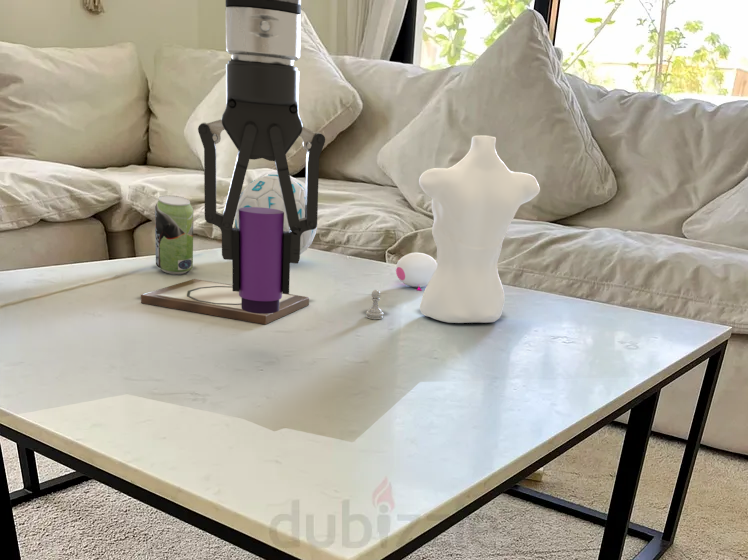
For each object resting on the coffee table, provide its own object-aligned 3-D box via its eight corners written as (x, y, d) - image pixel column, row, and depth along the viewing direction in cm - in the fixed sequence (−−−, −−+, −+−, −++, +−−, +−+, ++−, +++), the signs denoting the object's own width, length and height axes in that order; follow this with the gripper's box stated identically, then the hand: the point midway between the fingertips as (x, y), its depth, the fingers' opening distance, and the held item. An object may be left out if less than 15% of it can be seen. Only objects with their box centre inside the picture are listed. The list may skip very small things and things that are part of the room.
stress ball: (429, 303, 139) (428, 267, 140) (445, 285, 132) (443, 248, 132) (389, 301, 137) (387, 264, 138) (402, 283, 130) (400, 244, 130)
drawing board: (140, 303, 112) (140, 293, 111) (194, 286, 124) (194, 277, 123) (265, 324, 106) (265, 314, 106) (309, 305, 118) (309, 295, 118)
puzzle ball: (332, 263, 149) (335, 178, 142) (276, 272, 138) (276, 180, 131) (275, 250, 157) (276, 169, 150) (218, 257, 146) (215, 170, 139)
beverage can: (181, 267, 136) (178, 193, 130) (203, 275, 131) (201, 199, 126) (148, 269, 132) (143, 193, 126) (170, 278, 127) (166, 200, 122)
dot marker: (230, 309, 91) (230, 209, 86) (251, 301, 95) (252, 205, 90) (269, 316, 89) (271, 215, 84) (288, 308, 94) (291, 211, 88)
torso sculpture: (500, 309, 125) (525, 136, 113) (529, 325, 117) (558, 141, 105) (394, 309, 119) (408, 128, 108) (416, 326, 111) (434, 132, 100)
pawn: (372, 320, 113) (374, 292, 111) (362, 316, 114) (363, 288, 113) (386, 318, 114) (388, 291, 112) (376, 314, 116) (378, 287, 114)
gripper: (170, 50, 75) (179, 293, 86) (354, 69, 79) (340, 301, 90) (174, 53, 82) (182, 279, 93) (345, 70, 85) (333, 286, 96)
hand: (260, 289), depth 91 cm, fingers closed on dot marker, 5 cm apart
